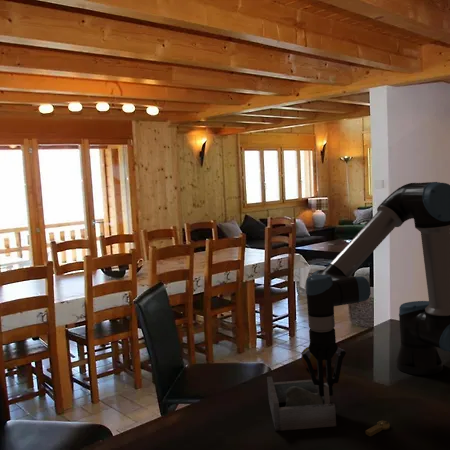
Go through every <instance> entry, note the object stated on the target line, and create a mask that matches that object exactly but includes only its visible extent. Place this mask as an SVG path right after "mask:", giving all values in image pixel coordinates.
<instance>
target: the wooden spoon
mask: <svg viewBox="0 0 450 450" xmlns="http://www.w3.org/2000/svg"><path fill="white" fill-rule="evenodd" d="M388 430H390V422H389V421H387V420H378V421H377V423H376V425H373V426H371V427H370V428H368V429H366V430H365V435H367V436H368V437H372V436H374V435H376V434H378V433H380V432H382V431H388Z"/></svg>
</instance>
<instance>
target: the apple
mask: <svg viewBox="0 0 450 450" xmlns="http://www.w3.org/2000/svg"><path fill="white" fill-rule="evenodd" d="M308 347H309V346H308ZM308 347H305V348H304V349H303V351H302V352H305V351H307V350H308ZM310 356H311V357H310V358H309V359H310V361H311V364H312V367H313V370H314V371H317V360H316V358H315V357H314V356H313V355H312V354H311V353H310ZM301 363H302V365H303V366H304V367H305V368H306V369H308V366H307V363H306V361H305V359H304V358H303V356H302V355H301ZM323 369H326V363H325V360H323Z"/></svg>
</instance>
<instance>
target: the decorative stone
mask: <svg viewBox="0 0 450 450" xmlns="http://www.w3.org/2000/svg"><path fill="white" fill-rule="evenodd" d="M286 395H287V397H286V398H287V399H286V402H285V407H291V406H304V405H316V404H323V402H324V400H323V397H321V396H320V394H319V393H311V392H310V391H307V390H306V389H303V388H301V387H297V386H292V387H290V388H288V389H287V391H286Z"/></svg>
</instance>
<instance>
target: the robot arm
mask: <svg viewBox="0 0 450 450" xmlns="http://www.w3.org/2000/svg"><path fill="white" fill-rule="evenodd" d="M376 211H377V212H376V213H375V214H374V215H373V216H372V218H371V219H369V221H368V222H367V223H366V224H365V225H364V226H363V227H362V228H361V229H360V231H359V232H357V233H356V234H355V236H354V237H352V239H351V240H350V241H349V243H347V245H345V247H343V249H341V250H340V252H339V253H338V254H337V255H336V256H335V257H334V258H333V260H332V261H330V263H329V264H328V265H327V266H326V267H325V268H324V269H319V270H316V271H314V272H313V273H312V274H311V275H310V276H308V277H307V278H306V281H305V282H306V283H305V294H306V303H307V304H306V305H307V315H308V316H307V319H308V320H307V321H308V328H309V329H308V333H309V334H308V337H309V345H308V350H307V351H305V352H303V351H301V353H300V354H301V357H302V356H303V358H304V359H305V361H306V363H307V366H308V368H307V369H308V372H309V375H310V380H312V381H313V383H314V385H319V394H320V396H321V397H322V396H323V400H324V402H323V404H328V403H331V401H330V397H331V396H333V395H334V392H333V386H334V384H338V383H339V380H340V377H341V376H340V375H341V368H342V365H343V364H342V363H343V360H344V358H345V356H346V354H347V353H346V350H345V349H344V348H340V347H339V346H338V343H337V340H336V339H337V337H336V329H335V325H336V323H335V307H338V306H340V307H341V306H344V305H352V304H359V303H361V302H366V301H367V300H369V299H370V297H371V286H370V283H369V280H368V279H367V278H366V277H364V276H362V275H361V276H353V274H354V273H355V272H356V271H357V269H358V268H359V267H360V266H361V265H362V264H363V263H364V262H365V261H366V260H367V259H368V258H369V256H370V255H372V253H373V252H374V251H375V250H376V249H377V248H378V247H379V245H380V244H382V242H383V241H384V240H385V239H386V237H387V236H388V235H389V234H390V233H391V232H392V231H394V229H395V228H400V227H401V226H402V225H403V224H404V223H406V222H407V221H408V220H412V219H413V222H414V228H415V229H416V230H418V231H419V232H420V236H421V246H422V254H423V262H424V264H423V265H424V270H425V271H424V272H425V278H426V286H427V287H426V288H427V289H426V290H427V297H428V298H427V299H428V300H415V301H414V300H413V301H408V302H404V303H402V304H400V306H399V309H398V310H399V313H398V318H399V321H398V322H399V334H400V346H399V350H398V353H397V357H396V360H395V361H396V368H397V369H398V371H401V372H403V373H405V374H409V375H415V376H431V375H437V374H439V373H441V372H442V371H443V369H444V365H443V362H444V361H443V359H442V357H441V354H440V352H439V349H441V351H444V352H448V353H449V352H450V184H449V183H446V182H439V181H426V182H410V183H406V184H403V185H401V186H400V187H397V189H395V190H394V191H393V192H392V193H390V194H389V195H388V196H387V197H386V198H385V199H384V200H383V201H382V202H381V203H380V204H379V205H378V207H377V208H376ZM351 276H353V277H351ZM310 353H311V354H312V355H313V356H314V357H315V358H316V360H317V370H316V372H317V377H316V374H315V370H313V367H312V364H311V361H310V359H309V358H310V357H311V356H310ZM335 354H336V358H335V363H334V368H333V371H332V358H333V357H334V356H335ZM323 360H325V363H326V367H325V374H326V375H325V376H326V382H324V368H323ZM332 372H333V373H332Z"/></svg>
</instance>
